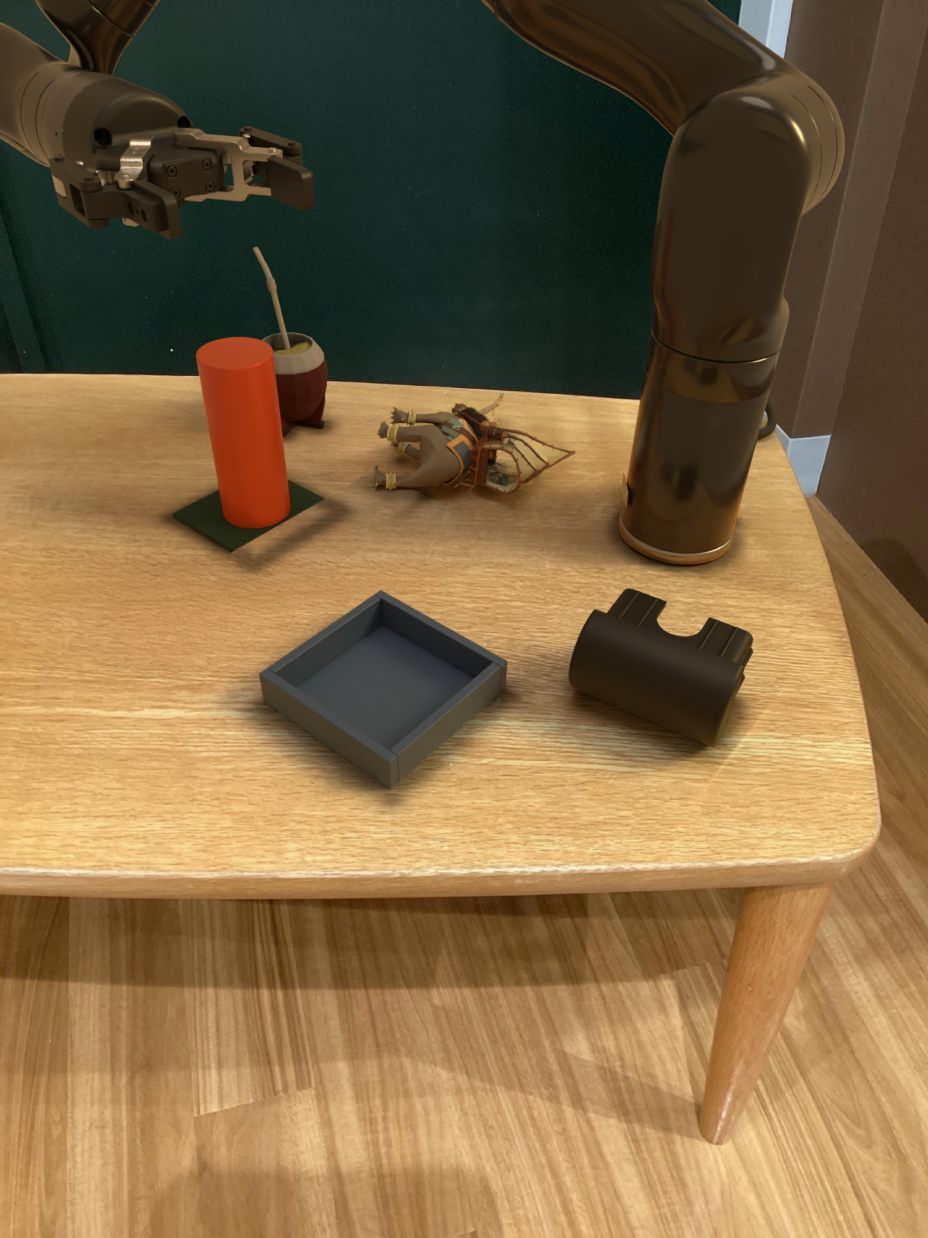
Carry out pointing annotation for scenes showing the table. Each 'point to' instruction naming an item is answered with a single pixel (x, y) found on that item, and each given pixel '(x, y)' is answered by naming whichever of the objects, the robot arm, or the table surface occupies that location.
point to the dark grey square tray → (384, 686)
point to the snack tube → (245, 430)
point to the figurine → (464, 450)
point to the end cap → (661, 666)
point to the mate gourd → (296, 370)
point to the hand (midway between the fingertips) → (244, 204)
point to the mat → (214, 526)
